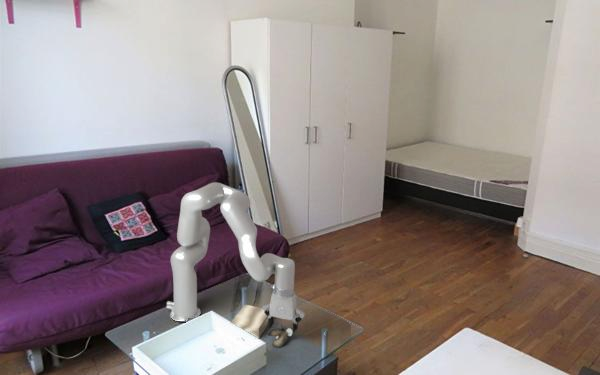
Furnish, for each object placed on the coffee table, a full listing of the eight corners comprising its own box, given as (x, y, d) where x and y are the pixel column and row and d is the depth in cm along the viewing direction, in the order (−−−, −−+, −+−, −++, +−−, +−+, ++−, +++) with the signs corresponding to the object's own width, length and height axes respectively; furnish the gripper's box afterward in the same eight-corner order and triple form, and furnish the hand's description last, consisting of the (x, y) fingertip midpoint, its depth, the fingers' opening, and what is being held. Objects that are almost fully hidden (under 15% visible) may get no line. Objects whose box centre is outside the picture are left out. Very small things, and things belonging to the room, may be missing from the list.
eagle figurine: (275, 329, 192) (263, 336, 184) (285, 318, 189) (273, 325, 181) (287, 344, 189) (274, 352, 181) (297, 334, 186) (285, 341, 179)
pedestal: (230, 332, 190) (231, 321, 188) (244, 314, 203) (245, 304, 201) (258, 338, 186) (258, 328, 185) (270, 320, 199) (271, 310, 198)
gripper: (259, 290, 179) (258, 329, 184) (302, 298, 175) (300, 338, 180) (266, 281, 186) (265, 319, 191) (308, 289, 182) (306, 327, 186)
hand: (282, 328), depth 185 cm, fingers open, 9 cm apart
